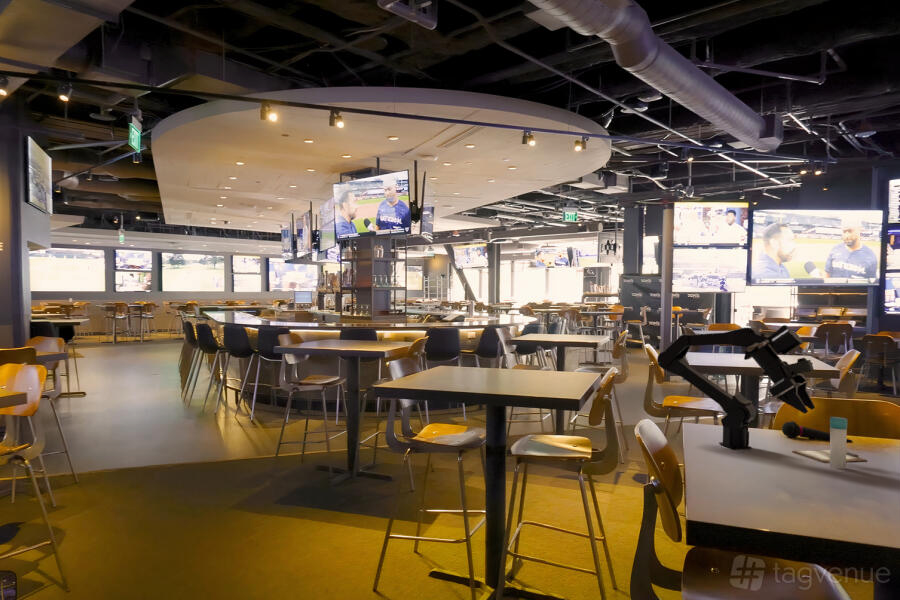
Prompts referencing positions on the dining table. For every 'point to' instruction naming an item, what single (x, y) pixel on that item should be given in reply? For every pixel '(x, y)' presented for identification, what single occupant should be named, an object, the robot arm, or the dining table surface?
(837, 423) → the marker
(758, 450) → the dining table surface
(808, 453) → the clipboard
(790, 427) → the microphone
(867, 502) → the dining table surface
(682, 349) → the robot arm
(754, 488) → the dining table surface
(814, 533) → the dining table surface
